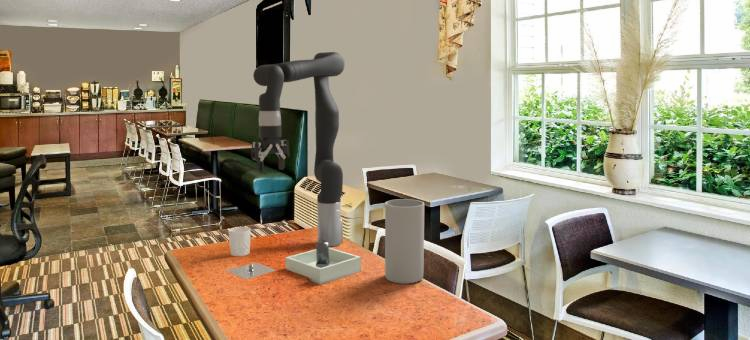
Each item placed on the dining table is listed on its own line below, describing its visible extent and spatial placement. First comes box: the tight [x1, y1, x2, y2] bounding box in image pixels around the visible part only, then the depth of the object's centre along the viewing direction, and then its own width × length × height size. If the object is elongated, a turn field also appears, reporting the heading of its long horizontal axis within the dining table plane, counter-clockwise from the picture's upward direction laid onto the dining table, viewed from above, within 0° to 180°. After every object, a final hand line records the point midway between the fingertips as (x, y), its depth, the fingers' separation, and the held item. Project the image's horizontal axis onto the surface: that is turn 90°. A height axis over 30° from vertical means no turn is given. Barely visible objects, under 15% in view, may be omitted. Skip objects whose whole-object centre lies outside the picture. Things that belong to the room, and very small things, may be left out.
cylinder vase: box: [384, 198, 425, 285], centre depth 174 cm, size 12×12×25 cm
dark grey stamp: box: [315, 240, 330, 268], centre depth 181 cm, size 4×4×9 cm
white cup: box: [228, 226, 252, 257], centre depth 199 cm, size 8×8×10 cm
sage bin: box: [284, 247, 362, 286], centre depth 182 cm, size 18×18×5 cm
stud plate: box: [226, 262, 277, 280], centre depth 180 cm, size 12×12×3 cm
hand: (271, 170), depth 187 cm, fingers open, 8 cm apart
